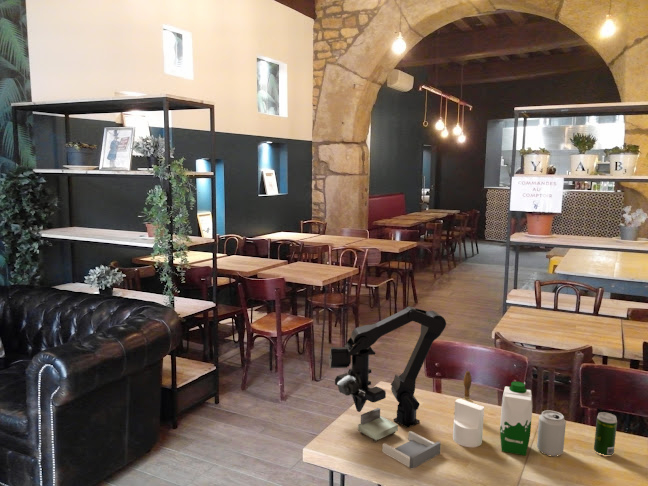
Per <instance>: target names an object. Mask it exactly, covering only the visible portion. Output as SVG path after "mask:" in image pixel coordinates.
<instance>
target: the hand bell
mask: <svg viewBox="0 0 648 486" xmlns="http://www.w3.org/2000/svg"><path fill="white" fill-rule="evenodd" d="M463 386H464V396H463V398H462V399H463V400H466V401H468V402H471V403H474V400H473V399H471V398H470V389H471V386H472V376H471V372H470V371H469V370H466V371H465V374H464V376H463Z"/></svg>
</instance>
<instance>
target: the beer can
mask: <svg viewBox="0 0 648 486" xmlns="http://www.w3.org/2000/svg"><path fill="white" fill-rule="evenodd" d="M617 425H618V420H617V416H616V415H615V414H612V413H609V412H604V411H603V412H598V413H597V416H596V424H595V434H594V442H593V443H594V444H593V450H594V452H595V451H596V452H598V453H601V454H604V455H612V454H613V453H615V444H616V437H617V427H618V426H617ZM596 452H595V453H596ZM613 455H614V454H613ZM613 455H612V456H613Z"/></svg>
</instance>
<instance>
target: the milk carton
mask: <svg viewBox="0 0 648 486" xmlns="http://www.w3.org/2000/svg"><path fill="white" fill-rule="evenodd" d="M532 399H533V395H532V390H531V389H527V388H526V383H524V382H523V381H518V380H515V381H512V382H511V383H510V386H504V390H503V394H502V399H501V407H500V409H501V410H500V422H499V423H500V424H499V425H500V426H499V433H500V435H499V436H500V437H499V438H500V447H501V449H500V450H501V452H504V453H505V452H506V453H510V454H515V455H521V456H525V457H526V455H527V451H528V448H529V443H530V439H531V438H530V437H531V428H532V418H533V417H532V415H533V400H532Z"/></svg>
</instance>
